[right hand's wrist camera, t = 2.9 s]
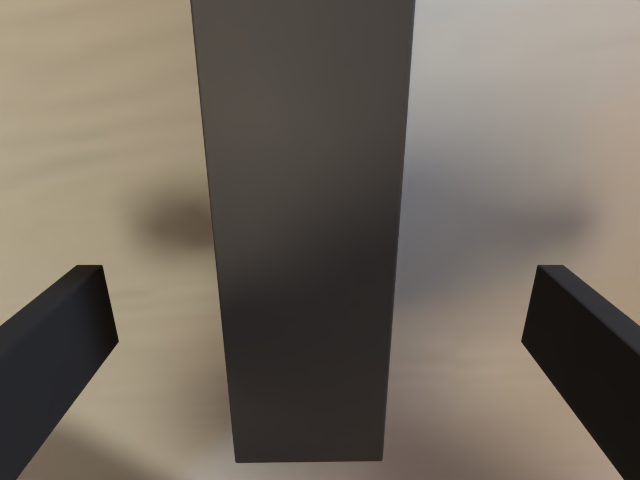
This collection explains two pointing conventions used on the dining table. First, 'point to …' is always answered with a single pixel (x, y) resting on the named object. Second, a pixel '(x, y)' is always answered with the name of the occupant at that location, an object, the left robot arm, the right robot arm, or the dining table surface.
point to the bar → (305, 214)
